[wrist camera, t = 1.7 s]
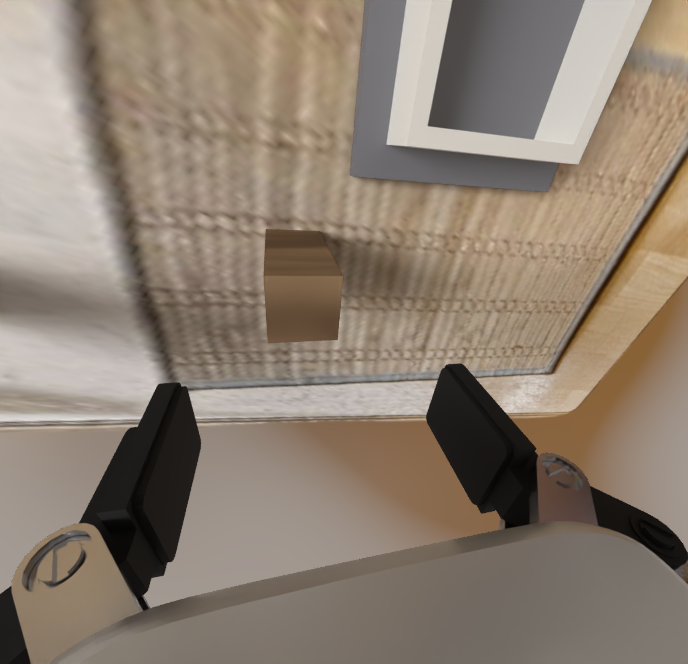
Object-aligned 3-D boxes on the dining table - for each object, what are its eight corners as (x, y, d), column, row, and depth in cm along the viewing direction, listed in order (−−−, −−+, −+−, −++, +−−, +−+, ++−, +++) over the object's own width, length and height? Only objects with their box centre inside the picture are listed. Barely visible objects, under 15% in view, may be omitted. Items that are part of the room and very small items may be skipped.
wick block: (265, 229, 22) (263, 276, 14) (319, 231, 22) (343, 276, 15) (268, 279, 24) (267, 343, 16) (317, 279, 25) (337, 339, 17)
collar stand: (387, -258, 12) (441, -439, 8) (667, -137, 16) (795, -226, 12) (349, 174, 21) (367, 183, 17) (536, 189, 24) (585, 199, 20)
